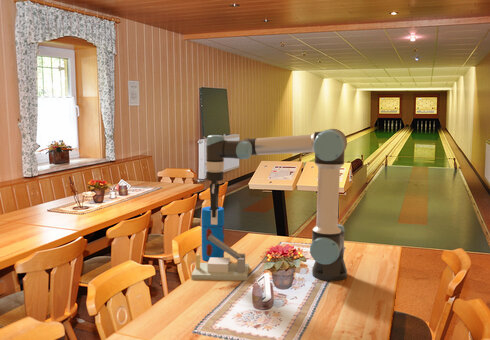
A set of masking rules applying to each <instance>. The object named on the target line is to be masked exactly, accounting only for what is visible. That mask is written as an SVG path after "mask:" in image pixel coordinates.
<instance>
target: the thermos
mask: <svg viewBox="0 0 490 340" xmlns="http://www.w3.org/2000/svg"><path fill="white" fill-rule="evenodd" d="M210 207H211V205H208V206H204V207H202V208H201V259H202V261H204V262H205V263H208V261H209V259H210V257H218V258H225V251H224V250H222V249H221V248H220V247H218V246H217V245H215V244H214V243H212V242H211V241H210V240H208V237H209V235H210V234H211V235H213V236H214V237H216V238H217V239H219V240H220V241H221V242H223V243H224V244H225V209H224V207H222V206H218V207H219V209H218V218H217V225H214V224H211V210H209V209H210Z"/></svg>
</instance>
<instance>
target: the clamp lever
mask: <svg viewBox="0 0 490 340" xmlns="http://www.w3.org/2000/svg"><path fill="white" fill-rule="evenodd" d="M208 240H210V241H211V242H212V243H214V244H215V245H217V246H218V247H220V248H221V249H222V250H224V253H227V254H228V255H230V256H231V257H232V258H234V259H235V260H237V259H238V258H244V256H242V255H240V254H241V253H238V252H237V251H235V250H234V249H233V248H231V247H230V246H228V245H227V244H226V243H225V242H224V243H223V242H221V241H220V240H219V239H217V238H216V237H214V236H213V235H211V234H210V235H209V237H208Z"/></svg>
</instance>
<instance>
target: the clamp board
mask: <svg viewBox="0 0 490 340" xmlns="http://www.w3.org/2000/svg"><path fill="white" fill-rule="evenodd" d="M239 254H240V255H242V256H244V258H238V259H236V260H237V261H236V262H237V263H236V262H235V263H233V262H231V258H230V257H224V258H218V257H210V259H209V261H208V262H201V254H200V253H196V254H195V266H194V269H193V271H192V272H191V275H190V278H191V280H208V281H209V280H212V281H213V280H215V281H216V280H218V281H248V278H249V277H248V276H249V269H250V264H249V263H246V253H239Z"/></svg>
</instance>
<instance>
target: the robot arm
mask: <svg viewBox="0 0 490 340" xmlns="http://www.w3.org/2000/svg"><path fill="white" fill-rule="evenodd" d="M347 140H348V139H347V136H346V135H345V134H344V132H342V131H341V130H340V129H337V128H330V129H325V130H322V131H321V130H320V131H315V132H313V133H312V134H300V135H299V134H298V135H285V136H284V135H283V136H272V137H257V138H249V137H248V138H243V139H239V140H225V136H224V135H221V134H211V135H208V136H207V137H206V145H205V148H206V160H205V161H206V163H204V165H205V166H206V173H205V174H206V175H205V178H206V179H205V180H207V181H209V182H211V183H210V184H209V194H210V196H209V197H210V202H209V203H210V206H211V207H210V209H209V210H211V224H214V225H217V218H218V209H219V207H220V206H219V194H220V187H221V186H220V185H221V184H220V183H219V182H221V181H224V170H225V168H224V167H225V166H224V165H225V160H224V159H237V160H249V159H250V158H251V156H261V155H264V156H265V155H282V154H283V155H284V154H300V153H301V154H304V153H313V154H314V164H315V166H317V171H318V172H317V197H316V198H317V199H316V225H315V226H314V227H313V228H312V229H311V230H312V237H311V243H310V247H309V253H310V255H311V258H312V259H313V260H314V263H313V267H312V270H311V274H312V276H313V277H314V278H317V279H319V280H322V281H330V282H335V281H342V280H345V279H346V278H347V277H348V270H347V267H346V263H345V259H344V253H345V252H344V251H345V233H346V232H345V226H344V225H342V224H341V223H340V224H339V200H340V199H339V198H340V197H339V196H340V179H341V178H340V176H341V175H340V173H341V168H342V167H343V166H344V164H345V153H346V152H345V151H346V149H347V145H348V141H347Z"/></svg>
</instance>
